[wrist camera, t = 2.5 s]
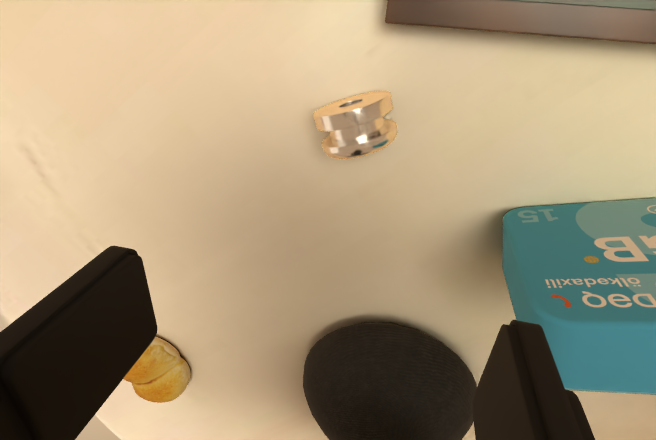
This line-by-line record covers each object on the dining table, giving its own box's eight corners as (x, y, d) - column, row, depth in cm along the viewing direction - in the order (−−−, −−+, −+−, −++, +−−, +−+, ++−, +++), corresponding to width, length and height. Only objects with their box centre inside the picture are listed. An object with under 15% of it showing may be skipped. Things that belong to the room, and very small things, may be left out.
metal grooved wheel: (393, 85, 26) (385, 102, 21) (402, 128, 27) (396, 152, 23) (323, 103, 27) (303, 122, 23) (334, 143, 29) (317, 168, 24)
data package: (703, 192, 25) (896, 327, 14) (688, 252, 27) (848, 408, 16) (499, 207, 28) (538, 324, 18) (499, 259, 30) (534, 390, 20)
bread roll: (155, 387, 50) (135, 415, 47) (116, 336, 46) (91, 362, 43) (206, 384, 47) (189, 413, 44) (169, 328, 43) (146, 356, 40)
